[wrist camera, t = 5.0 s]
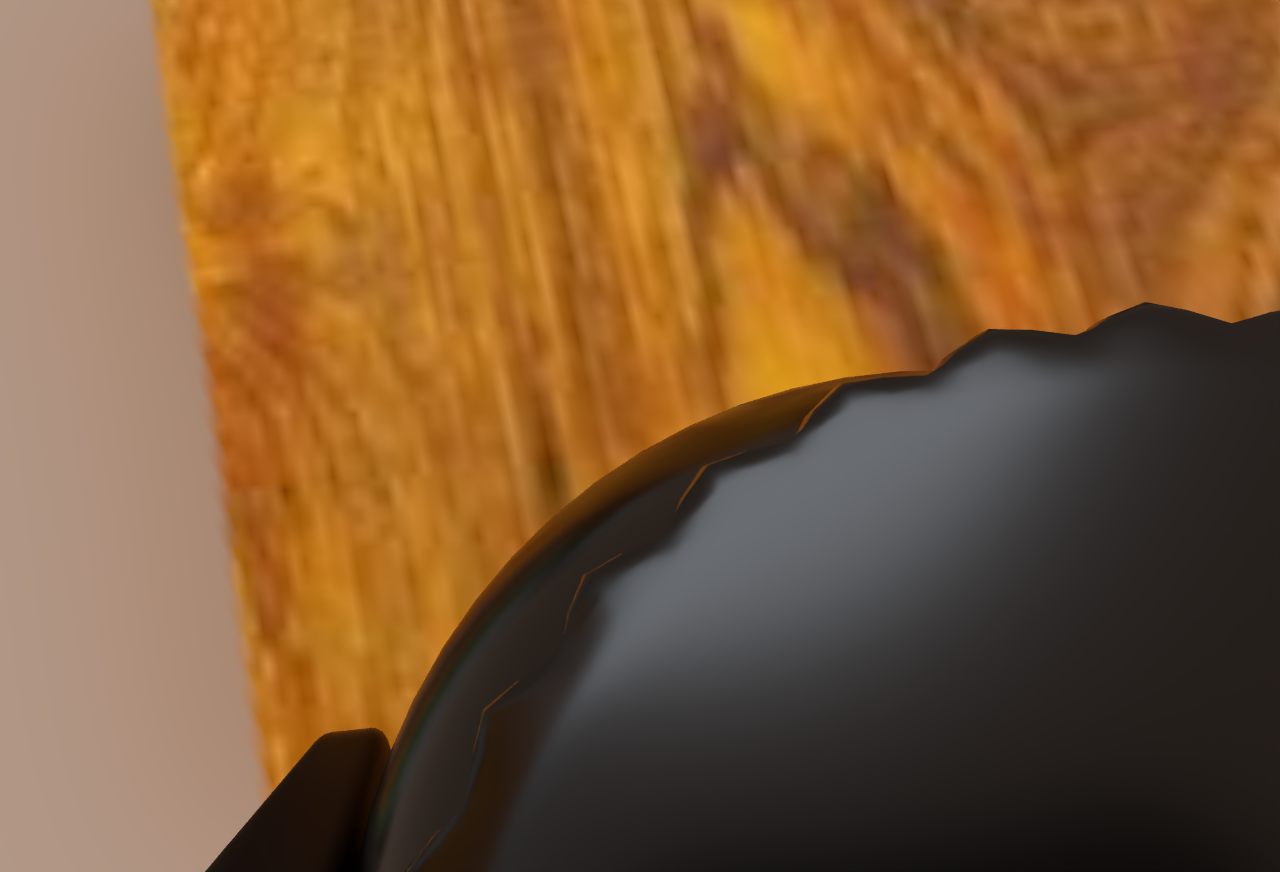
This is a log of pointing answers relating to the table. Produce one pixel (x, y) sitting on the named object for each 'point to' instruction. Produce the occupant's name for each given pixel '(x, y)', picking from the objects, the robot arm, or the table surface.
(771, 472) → the supplement bottle
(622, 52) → the table surface
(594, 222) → the table surface
